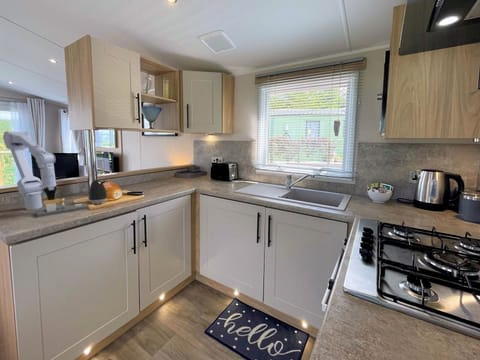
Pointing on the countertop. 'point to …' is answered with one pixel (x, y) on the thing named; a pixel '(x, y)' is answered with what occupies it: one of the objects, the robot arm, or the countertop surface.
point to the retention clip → (54, 201)
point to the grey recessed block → (62, 209)
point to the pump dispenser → (97, 192)
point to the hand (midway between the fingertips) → (51, 201)
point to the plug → (50, 207)
